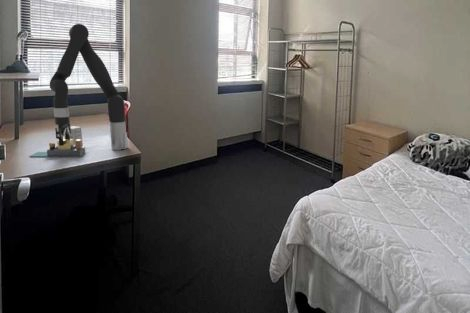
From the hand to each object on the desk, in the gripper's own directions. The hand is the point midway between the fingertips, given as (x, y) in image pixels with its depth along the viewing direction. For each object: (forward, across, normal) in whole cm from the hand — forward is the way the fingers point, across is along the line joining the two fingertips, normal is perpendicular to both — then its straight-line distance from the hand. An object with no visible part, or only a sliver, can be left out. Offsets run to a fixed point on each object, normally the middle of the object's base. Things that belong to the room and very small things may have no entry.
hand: (64, 143), depth 192 cm
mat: (+7, 0, +14) cm, 15 cm away
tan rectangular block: (+3, 0, 0) cm, 3 cm away
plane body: (+7, 0, 0) cm, 7 cm away
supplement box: (+7, +19, +3) cm, 20 cm away
